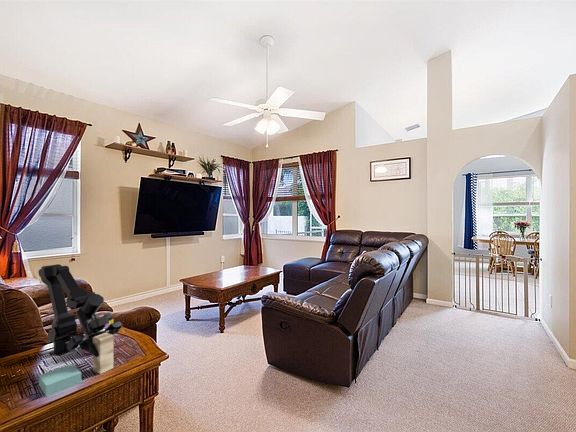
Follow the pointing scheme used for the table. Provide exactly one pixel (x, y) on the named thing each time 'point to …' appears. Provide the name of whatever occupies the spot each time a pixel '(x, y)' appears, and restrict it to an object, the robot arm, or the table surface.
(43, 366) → the table surface
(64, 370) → the base block
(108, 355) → the pillar
